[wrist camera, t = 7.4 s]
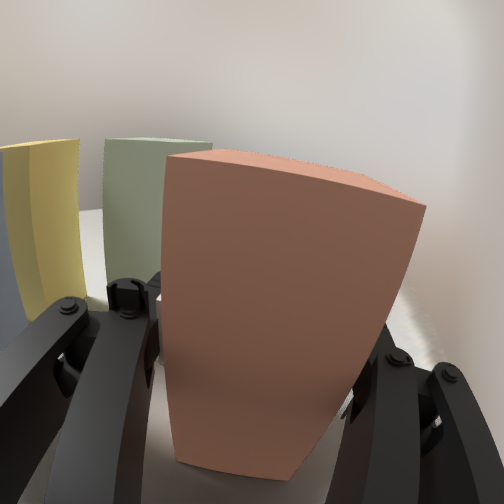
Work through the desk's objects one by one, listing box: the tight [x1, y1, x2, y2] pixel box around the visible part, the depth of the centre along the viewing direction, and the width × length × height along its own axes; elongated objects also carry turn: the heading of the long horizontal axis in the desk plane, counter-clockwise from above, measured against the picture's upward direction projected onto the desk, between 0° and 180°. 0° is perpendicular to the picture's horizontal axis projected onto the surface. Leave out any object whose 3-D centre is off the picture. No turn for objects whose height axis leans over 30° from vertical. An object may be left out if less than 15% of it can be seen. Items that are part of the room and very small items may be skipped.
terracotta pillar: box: [161, 149, 426, 481], centre depth 9 cm, size 5×5×12 cm
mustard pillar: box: [0, 139, 87, 322], centre depth 15 cm, size 5×5×12 cm
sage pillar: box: [103, 138, 212, 285], centre depth 18 cm, size 5×5×12 cm
